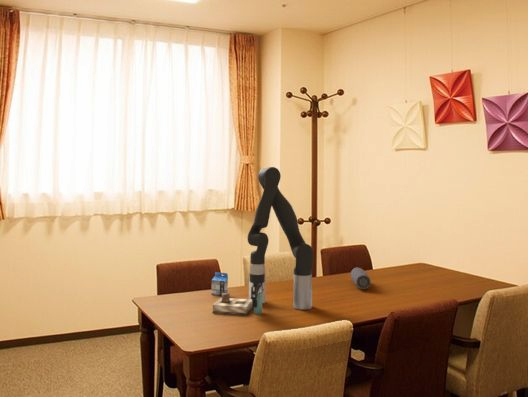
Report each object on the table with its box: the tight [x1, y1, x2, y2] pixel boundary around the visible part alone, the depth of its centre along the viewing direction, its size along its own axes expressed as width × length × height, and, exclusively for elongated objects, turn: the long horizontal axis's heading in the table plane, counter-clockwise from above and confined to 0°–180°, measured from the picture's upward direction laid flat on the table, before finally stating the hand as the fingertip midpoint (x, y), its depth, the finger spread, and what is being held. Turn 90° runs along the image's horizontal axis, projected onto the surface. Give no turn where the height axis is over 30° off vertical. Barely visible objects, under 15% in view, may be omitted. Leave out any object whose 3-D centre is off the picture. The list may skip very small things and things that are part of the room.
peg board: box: [212, 292, 254, 316], centre depth 257 cm, size 17×14×8 cm
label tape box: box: [210, 271, 229, 297], centre depth 287 cm, size 9×4×12 cm, turn 62°
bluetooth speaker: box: [350, 267, 372, 290], centre depth 307 cm, size 23×9×10 cm, turn 179°
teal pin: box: [253, 294, 263, 315], centre depth 251 cm, size 4×4×9 cm
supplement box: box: [248, 277, 266, 304], centre depth 271 cm, size 7×7×13 cm
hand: (256, 305), depth 251 cm, fingers open, 8 cm apart
